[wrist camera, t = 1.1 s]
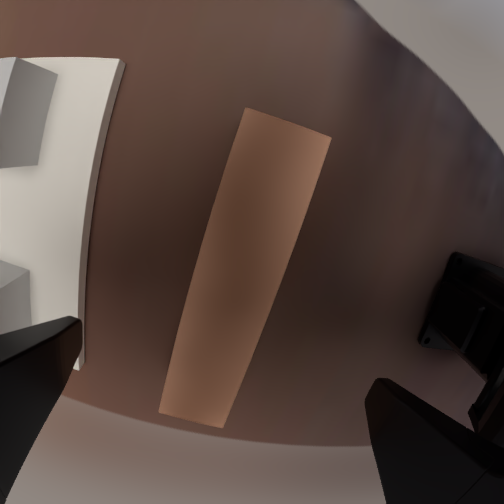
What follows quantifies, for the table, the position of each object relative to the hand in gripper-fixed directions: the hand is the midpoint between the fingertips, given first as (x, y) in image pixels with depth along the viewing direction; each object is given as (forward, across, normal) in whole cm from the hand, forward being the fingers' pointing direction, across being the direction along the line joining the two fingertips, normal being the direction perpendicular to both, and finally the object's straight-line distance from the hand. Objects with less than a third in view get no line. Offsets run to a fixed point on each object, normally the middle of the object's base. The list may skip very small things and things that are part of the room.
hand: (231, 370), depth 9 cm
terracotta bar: (+9, 0, 0) cm, 9 cm away
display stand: (+8, +14, 0) cm, 17 cm away
